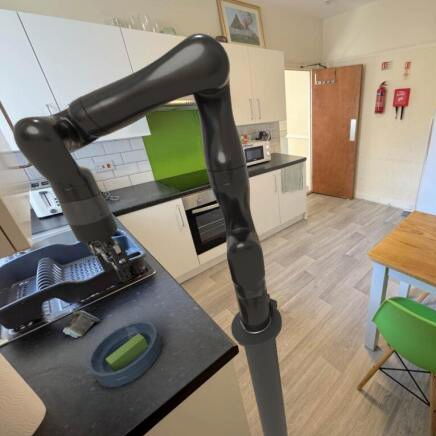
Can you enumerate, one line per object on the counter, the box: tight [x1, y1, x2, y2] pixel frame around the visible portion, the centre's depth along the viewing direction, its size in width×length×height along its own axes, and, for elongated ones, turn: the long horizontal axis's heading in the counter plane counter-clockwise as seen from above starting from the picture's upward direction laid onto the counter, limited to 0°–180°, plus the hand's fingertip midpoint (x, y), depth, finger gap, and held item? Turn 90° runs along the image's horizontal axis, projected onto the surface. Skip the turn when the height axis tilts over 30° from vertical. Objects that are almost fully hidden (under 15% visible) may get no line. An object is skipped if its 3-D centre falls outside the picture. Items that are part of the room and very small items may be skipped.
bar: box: [106, 333, 148, 372], centre depth 68 cm, size 9×3×4 cm, turn 149°
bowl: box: [87, 320, 162, 388], centre depth 68 cm, size 16×16×6 cm
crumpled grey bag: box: [62, 309, 102, 339], centre depth 78 cm, size 10×7×12 cm
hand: (118, 274), depth 59 cm, fingers open, 8 cm apart
